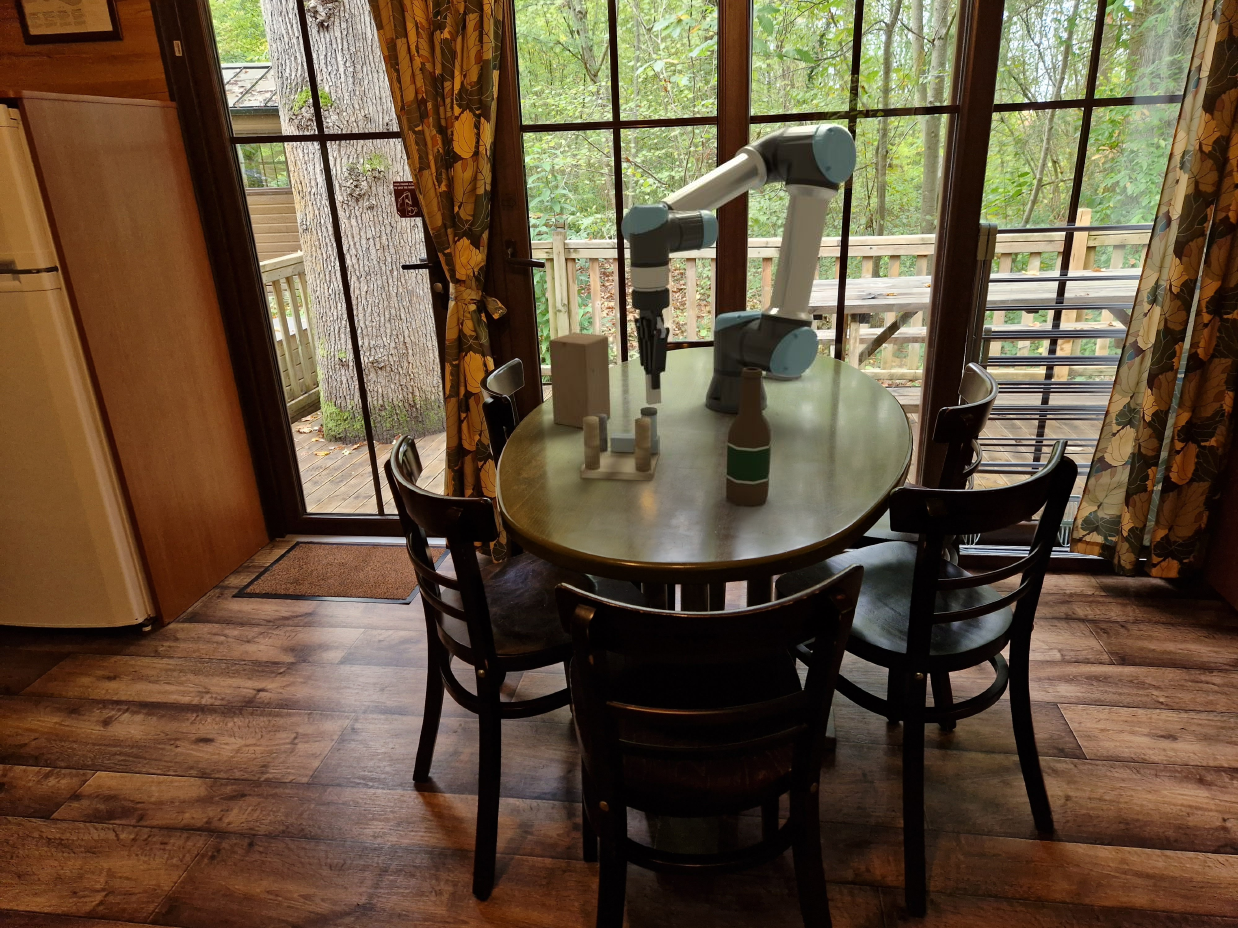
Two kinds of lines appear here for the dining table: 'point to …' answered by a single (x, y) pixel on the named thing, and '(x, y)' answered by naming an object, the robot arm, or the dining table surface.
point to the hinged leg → (627, 441)
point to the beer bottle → (749, 446)
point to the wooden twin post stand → (617, 463)
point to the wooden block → (579, 377)
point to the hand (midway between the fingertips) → (653, 402)
